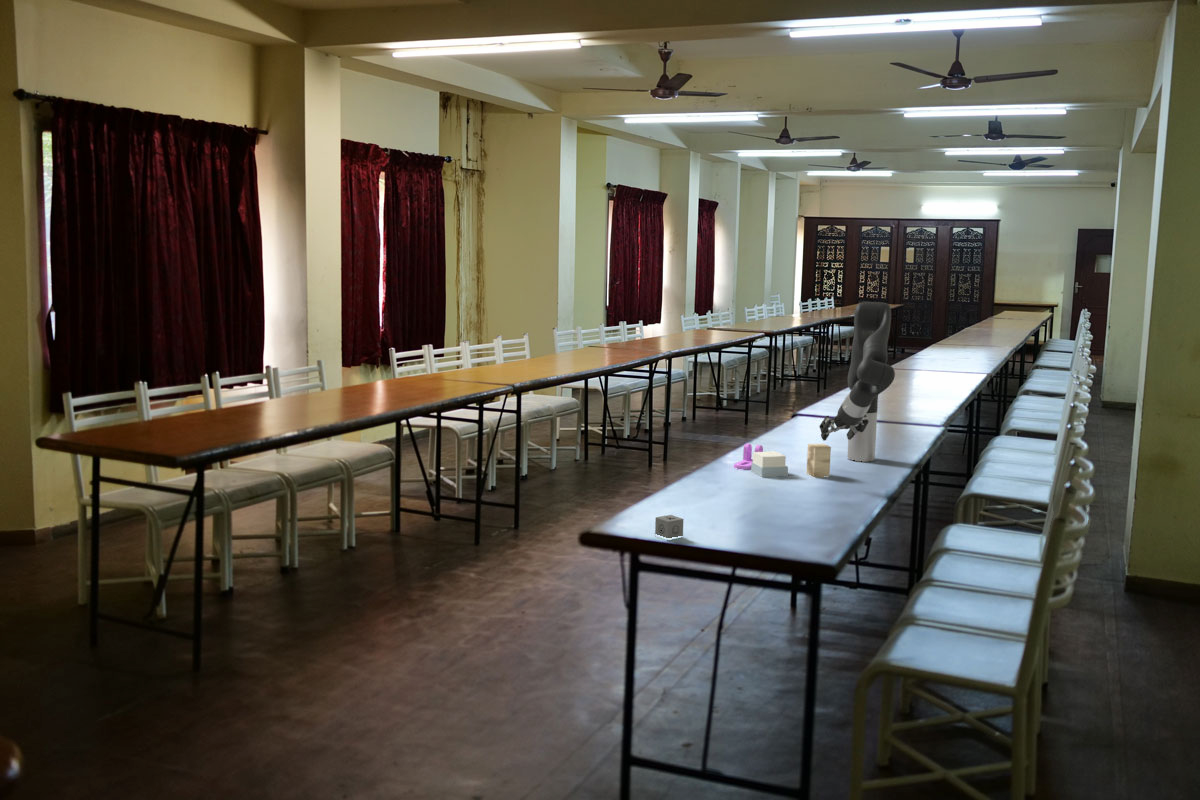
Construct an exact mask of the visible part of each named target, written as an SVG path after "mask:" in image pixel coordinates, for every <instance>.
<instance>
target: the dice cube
mask: <svg viewBox="0 0 1200 800" xmlns="http://www.w3.org/2000/svg"><path fill="white" fill-rule="evenodd" d="M654 526H655V527H654V529H655V531H654V535H655V534H657V535H660V536H663V537H666V538H672V537H678V536H683V537H684V518H682V517H679V516H676V515H673V514H668V515H663V516H657V517H655V525H654Z"/></svg>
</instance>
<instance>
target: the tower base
mask: <svg viewBox="0 0 1200 800" xmlns="http://www.w3.org/2000/svg"><path fill="white" fill-rule="evenodd" d="M750 471H751V473H754V474H755V475H757V476H759V477H761V478H777V477H776V476H782V477H789V476H788V475H789V473H788V472H789V466H787V465H785V467H764V468H762V467H760V466H758V465H756V464H754V463H753V462H752V464H751V469H750Z"/></svg>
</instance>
